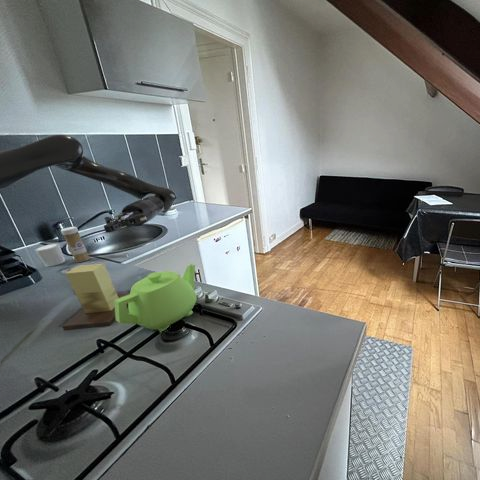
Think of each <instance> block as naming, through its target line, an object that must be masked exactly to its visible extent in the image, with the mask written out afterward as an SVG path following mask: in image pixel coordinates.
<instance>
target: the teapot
mask: <svg viewBox="0 0 480 480" xmlns="http://www.w3.org/2000/svg"><path fill="white" fill-rule="evenodd" d="M184 271H185V272H184V273H183V276H182V275H180V274H179V273H177V272H175V271H170V270H163V271H154V272H151V273H149V274H148V275H146V276H145V277H144V278H141V279H140V280H138V281H137V282H135V283H134V284H133V285H131V286H132V287H131V289H130V292H129V293H130V294H129V295H126V296H124V297H121V298H118V299H116V300H114V302H115V317H116V320H115V321H116V322H117V323H119V324H136V325H138V326H140V327H143V328H146V329H148V330H159V331H160V332H159V331H158V332H159V333H162V332H161V331H163V330H165V329H167V328H168V327H169V326H170V327H171V325H173V324H175V323H176V322H178V321H180V320H181V319H183V318H186V317H189V316H191V315H192V314H193V313H194V312H193V310H192V309H194V307H195V305H196V303H197V299H198V298H197V294H196V292H195V279H196V278H195V276H196V275H195V274H196V264H193V263H192V264H189V265H187V266H186V268H185V270H184ZM127 303H128V308H127V305H126V304H127Z"/></svg>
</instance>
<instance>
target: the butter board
mask: <svg viewBox="0 0 480 480" xmlns="http://www.w3.org/2000/svg"><path fill="white" fill-rule="evenodd" d="M129 294H130V292H122V293H117V290H116V288H115V286H114V284H113V283H112V284H111V285H110V286H109V287H107V288H106V289H105V290H104V291H102V292H92V293H81V294H75V295H76V298H77V299H78V302H79V303H80V305H81V307H82V309H81V310H80V311H79V312H77V313H76V314H74V315H73V316H72V317H71V318H70V319H69V320H67V321H66V322H65V323H64V324H63V325H61V327H62V330H64V331H66V330H67V331H68V330H78V329H88V328H98V327H99V328H100V327H109V326H111V325H112V324H113V323H114V322H115V321H116V317H115V302H114V300H116V299H118V298H121V297H124V296H126V295H129ZM126 305H127V309H129V308H128V303H127V304H126Z"/></svg>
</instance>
